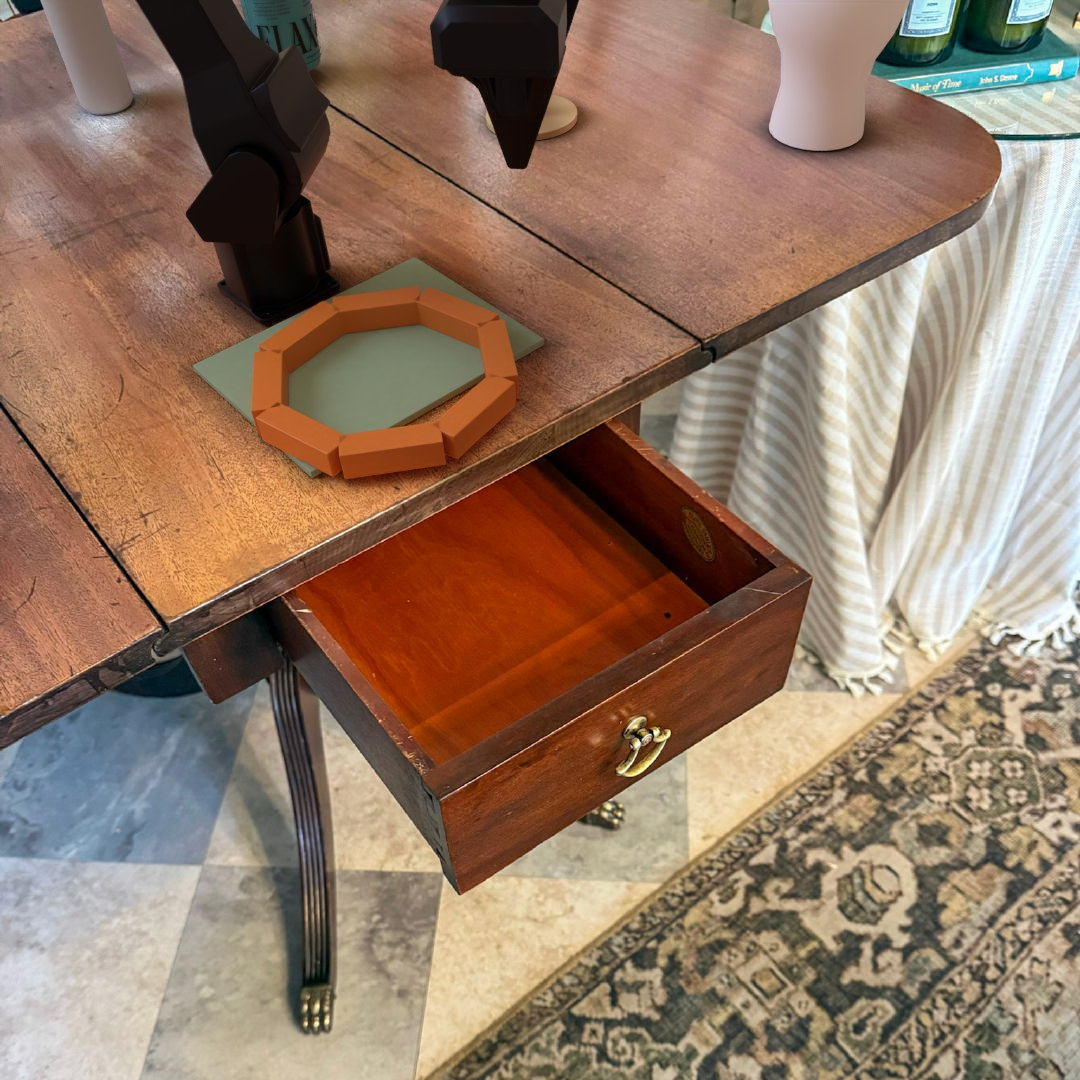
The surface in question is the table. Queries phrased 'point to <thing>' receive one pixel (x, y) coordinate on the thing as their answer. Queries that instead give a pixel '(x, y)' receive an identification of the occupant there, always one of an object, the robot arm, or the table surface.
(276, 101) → the robot arm
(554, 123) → the stand
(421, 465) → the ring
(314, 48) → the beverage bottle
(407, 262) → the mat
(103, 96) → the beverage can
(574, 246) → the table surface
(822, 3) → the pale pink vase
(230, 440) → the table surface
